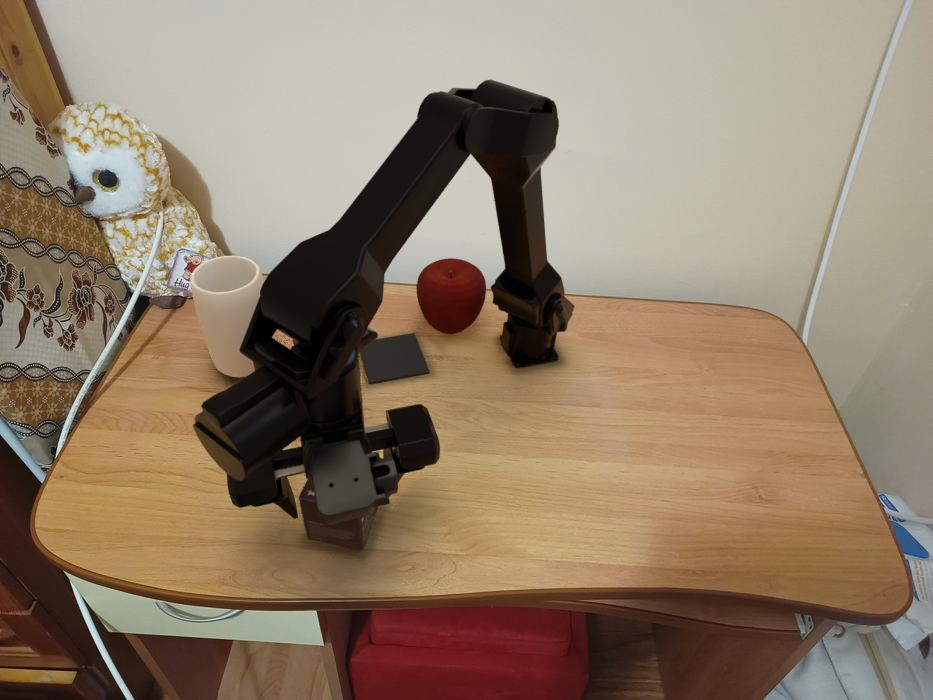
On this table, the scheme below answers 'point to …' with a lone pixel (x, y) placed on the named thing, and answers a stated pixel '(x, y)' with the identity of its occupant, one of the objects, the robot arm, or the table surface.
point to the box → (336, 534)
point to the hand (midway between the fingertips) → (342, 503)
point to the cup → (227, 308)
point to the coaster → (393, 358)
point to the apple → (451, 294)
